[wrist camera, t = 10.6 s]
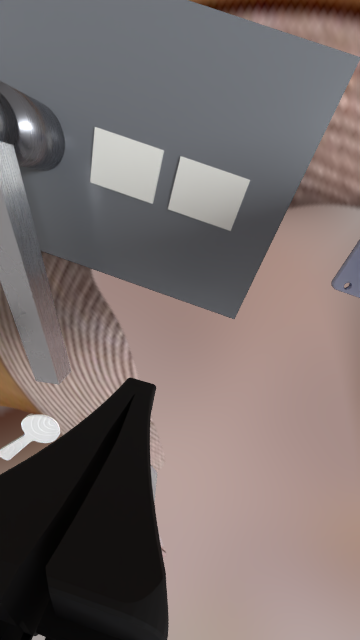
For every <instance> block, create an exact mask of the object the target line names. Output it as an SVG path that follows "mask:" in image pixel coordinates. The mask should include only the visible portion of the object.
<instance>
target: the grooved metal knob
mask: <svg viewBox="0 0 360 640" xmlns="http://www.w3.org/2000/svg"><path fill="white" fill-rule="evenodd" d="M0 93H1V94H2V95H3V96H4V97H5V98H6V99H7V100H8V102H9V103H10V105H11V107H12V109H13V111H14V113H15V116H16V119H17V123H18V130H19V135H18V142H17V144H16V147H15V148H14V149H15V153H16V157H17V161H18V165H19V166H20V167H27V168H33V169H39V170H52V169H54V168H55V167H57V166H58V165H59V163H60V162H61V160H62V158H63V155H64V151H65V139H64V134H63V130H62V127H61V125H60V122H59V120H58V119H57V117H56V115H55V114H54V113H53V112H52V110H51V109H50V108H49V107H47V106H46V105H45V104H43V103H41V102H39V101H37V100H36V99H34V98H32V97H30V96H28V95H26V94H24V93H22V92H20V91H19V90H17V89H15V88H13V87H11V86H9V85H7V84H5V83H3V82H2V81H0Z"/></svg>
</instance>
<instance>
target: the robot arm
mask: <svg viewBox="0 0 360 640" xmlns="http://www.w3.org/2000/svg"><path fill="white" fill-rule="evenodd" d="M346 283H350V284H349V286H348V287H346V288H344V285H345V284H346ZM332 286H333V288H334V289H336V290H339V291H341V292H344V293H347V294H350V295H353V296H356V297H359V298H360V240H359V241H358V243H357V245H356V246H355V247H354V249H353V250H352V252H351V253H350V255H349V256H348V258H347V259H346V261H345V262H344V264H343V265H342V267H341V268H340V270H339V271H338V273H337V274H336V276H335V277H334V279H333V280H332ZM155 391H156V386H155V385H154V384H151V383H147V382H144V381H140V380H137V379H133V378H128V379H127V380H126V381H125V382H124V383H123V385H122V386H121V387H120V388H119V389H118V390H117V391H116V392H115V393H114V394H113V395H112V396H111V397H110V398H108V399H107V400H106V401H105V402H104V403H103V404H102V405H101V406H100V407H98V408H97V409H96V410H95V411H94V412H93V413H91V414H90V415H89V416H88V417H87V418H85V419H84V420H83V421H82V422H80V423H79V424H78V425H77V426H75V427H74V428H73V429H71V430H70V431H69V432H67V433H66V434H65V435H63V436H62V437H60V438H59V439H57V440H56V441H55V442H53V443H52V444H50V445H49V446H47V447H45V448H44V449H42V450H41V451H39V452H38V453H37V454H35V455H33V456H31V457H30V458H28V459H27V460H25V461H23V462H21V463H20V464H18V465H16V466H15V467H13V468H11V469H9V470H8V471H6V472H4V473H2V474H1V475H0V640H32V637H33V636H37V635H38V634H40V635H42V636H45V637H46V638H45V640H167V637H168V603H167V589H166V573H165V567H164V562H163V557H162V551H161V545H160V540H159V533H158V527H157V521H156V514H155V505H154V497H153V489H152V478H151V464H150V416H151V410H152V406H153V400H154V396H155Z"/></svg>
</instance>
